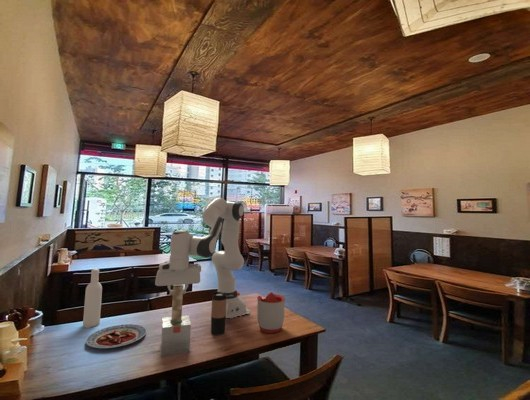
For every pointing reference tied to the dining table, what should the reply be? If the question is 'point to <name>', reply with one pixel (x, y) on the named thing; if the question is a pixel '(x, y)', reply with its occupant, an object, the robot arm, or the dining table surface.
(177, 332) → the sleeve block
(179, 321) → the birch post
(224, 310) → the travel mug
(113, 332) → the ceramic plate
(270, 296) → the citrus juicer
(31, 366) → the dining table surface
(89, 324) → the bottle
